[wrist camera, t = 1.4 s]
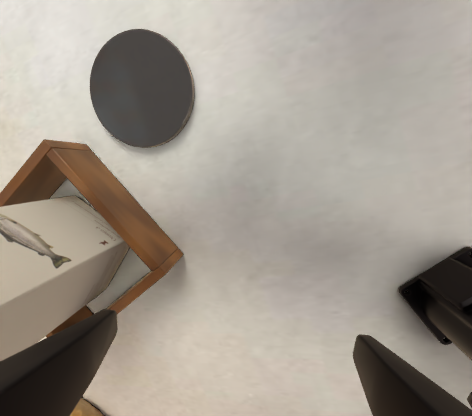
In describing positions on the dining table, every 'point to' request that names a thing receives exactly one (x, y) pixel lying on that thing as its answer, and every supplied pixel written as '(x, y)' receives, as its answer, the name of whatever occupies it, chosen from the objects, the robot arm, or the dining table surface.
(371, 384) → the robot arm
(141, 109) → the slate coaster
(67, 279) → the white packaging box
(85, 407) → the pastry
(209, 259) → the dining table surface
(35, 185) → the brown square shallow frame
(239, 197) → the dining table surface
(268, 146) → the dining table surface
